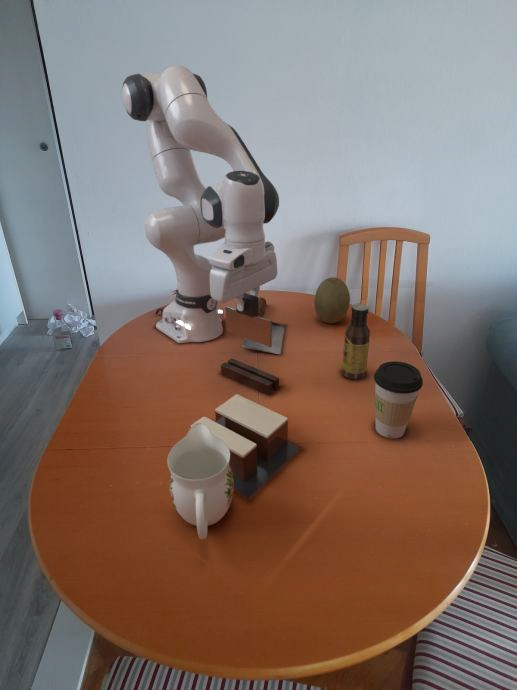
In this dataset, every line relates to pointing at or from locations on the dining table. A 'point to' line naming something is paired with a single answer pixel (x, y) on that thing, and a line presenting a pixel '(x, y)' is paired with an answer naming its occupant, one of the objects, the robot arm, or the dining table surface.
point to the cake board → (257, 438)
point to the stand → (250, 376)
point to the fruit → (332, 300)
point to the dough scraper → (249, 322)
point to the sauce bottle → (356, 343)
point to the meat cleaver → (276, 335)
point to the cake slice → (235, 449)
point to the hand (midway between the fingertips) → (246, 307)
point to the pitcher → (200, 478)
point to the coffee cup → (395, 396)
